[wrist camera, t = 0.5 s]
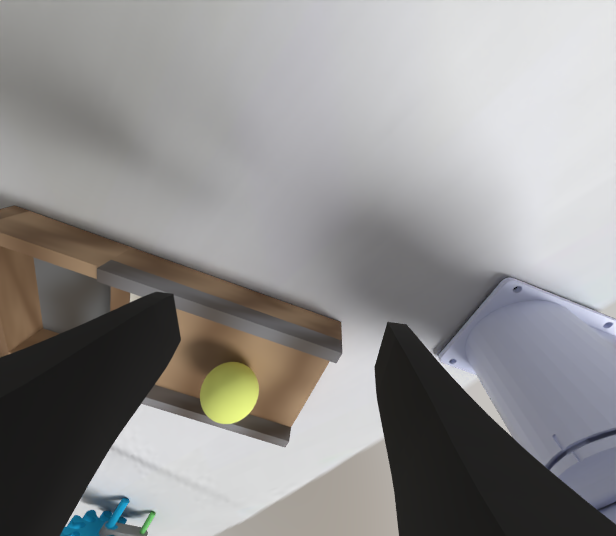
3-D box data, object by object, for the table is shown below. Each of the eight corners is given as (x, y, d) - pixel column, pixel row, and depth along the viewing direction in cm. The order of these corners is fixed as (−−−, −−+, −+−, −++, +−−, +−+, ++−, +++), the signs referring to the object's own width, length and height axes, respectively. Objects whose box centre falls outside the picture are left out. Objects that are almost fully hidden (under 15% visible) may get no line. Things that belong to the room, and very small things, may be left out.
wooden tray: (341, 322, 20) (342, 353, 18) (290, 412, 26) (285, 447, 23) (14, 205, 18) (-44, 219, 15) (34, 331, 24) (-6, 358, 21)
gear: (65, 513, 38) (38, 581, 29) (95, 469, 40) (78, 519, 31) (141, 529, 42) (137, 592, 33) (165, 488, 44) (167, 537, 35)
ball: (270, 360, 20) (257, 409, 17) (256, 392, 22) (242, 443, 18) (219, 343, 20) (194, 389, 16) (209, 377, 22) (185, 426, 18)
